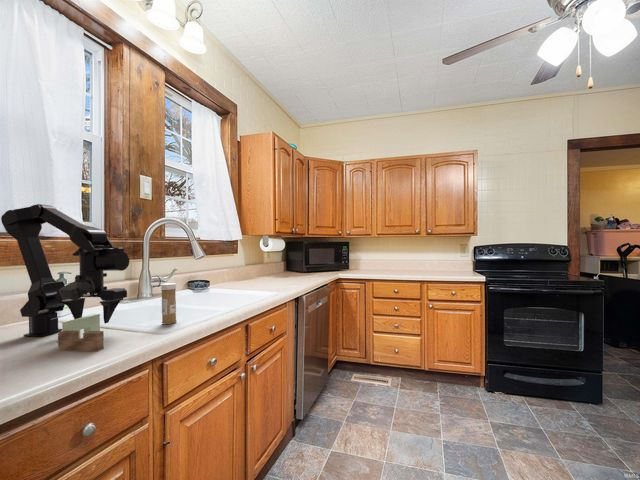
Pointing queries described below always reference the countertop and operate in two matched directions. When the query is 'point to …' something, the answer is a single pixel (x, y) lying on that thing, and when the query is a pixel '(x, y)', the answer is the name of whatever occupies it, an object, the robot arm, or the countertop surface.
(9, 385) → the countertop surface
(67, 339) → the walnut rail
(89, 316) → the green board
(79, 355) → the countertop surface
